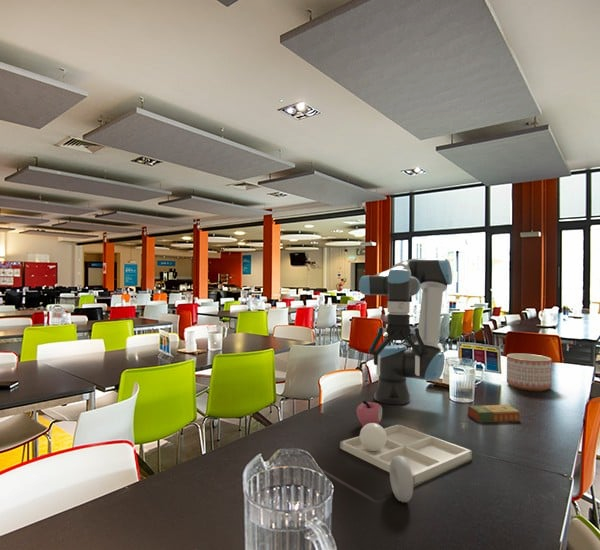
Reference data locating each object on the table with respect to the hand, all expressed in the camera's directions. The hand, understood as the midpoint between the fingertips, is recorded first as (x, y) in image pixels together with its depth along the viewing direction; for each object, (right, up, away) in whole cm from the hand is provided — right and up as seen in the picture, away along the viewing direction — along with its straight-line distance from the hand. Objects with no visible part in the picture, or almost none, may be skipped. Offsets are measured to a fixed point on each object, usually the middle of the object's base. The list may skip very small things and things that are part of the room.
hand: (397, 374), depth 146 cm
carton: (+39, -20, +12) cm, 45 cm away
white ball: (-12, -18, -20) cm, 30 cm away
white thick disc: (-10, -19, -47) cm, 51 cm away
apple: (-10, -19, -1) cm, 21 cm away
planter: (+78, -20, +59) cm, 100 cm away
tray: (-3, -19, -22) cm, 29 cm away
